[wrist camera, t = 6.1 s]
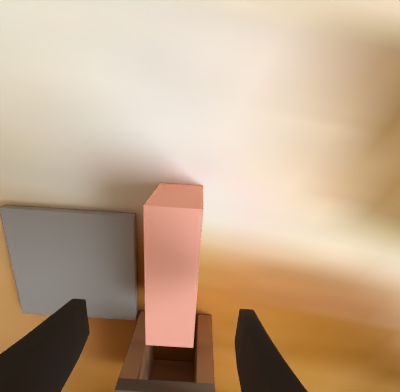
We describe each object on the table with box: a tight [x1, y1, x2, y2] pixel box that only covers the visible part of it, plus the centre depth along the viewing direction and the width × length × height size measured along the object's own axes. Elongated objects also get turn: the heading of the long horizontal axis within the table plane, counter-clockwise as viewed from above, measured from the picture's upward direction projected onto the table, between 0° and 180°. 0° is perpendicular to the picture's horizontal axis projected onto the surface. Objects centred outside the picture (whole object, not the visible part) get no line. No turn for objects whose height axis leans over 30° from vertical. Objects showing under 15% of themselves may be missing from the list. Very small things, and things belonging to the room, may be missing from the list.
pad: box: [0, 205, 138, 320], centre depth 18 cm, size 10×10×1 cm
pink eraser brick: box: [143, 183, 203, 348], centre depth 16 cm, size 10×3×5 cm, turn 176°
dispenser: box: [115, 311, 215, 392], centre depth 18 cm, size 7×6×6 cm
